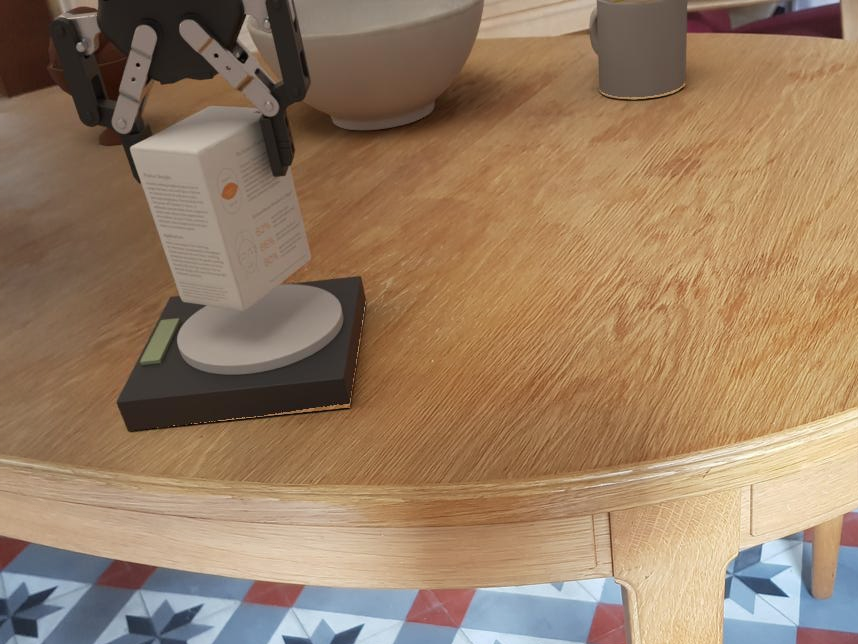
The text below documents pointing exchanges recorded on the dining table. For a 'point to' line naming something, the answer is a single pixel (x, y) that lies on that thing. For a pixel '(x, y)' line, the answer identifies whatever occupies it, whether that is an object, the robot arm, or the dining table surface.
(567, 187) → the dining table surface
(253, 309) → the scale
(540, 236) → the dining table surface
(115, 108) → the robot arm
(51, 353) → the dining table surface
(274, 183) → the small box
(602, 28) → the coffee mug
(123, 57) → the ice cream bowl
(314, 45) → the decorative bowl
